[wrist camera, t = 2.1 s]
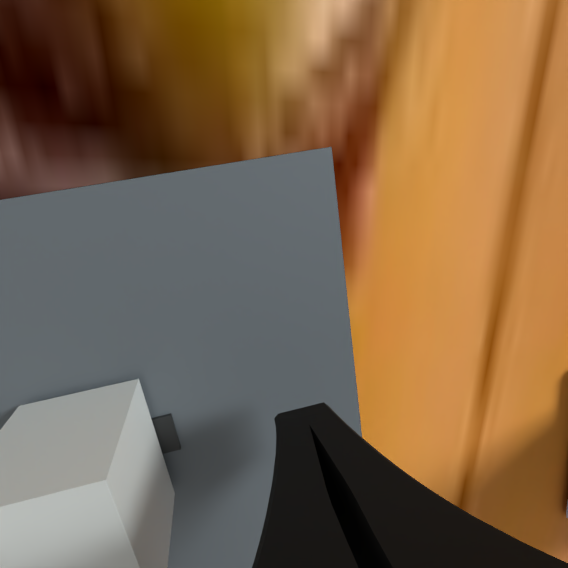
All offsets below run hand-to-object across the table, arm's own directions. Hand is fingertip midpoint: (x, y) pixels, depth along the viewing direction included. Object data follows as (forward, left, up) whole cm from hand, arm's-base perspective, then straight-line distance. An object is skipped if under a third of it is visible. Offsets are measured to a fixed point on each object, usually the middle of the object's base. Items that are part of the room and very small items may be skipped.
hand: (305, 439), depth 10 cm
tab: (+6, 0, -2) cm, 6 cm away
